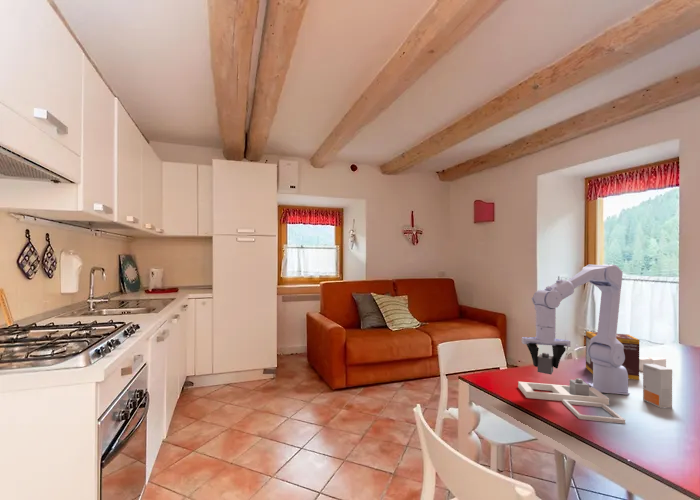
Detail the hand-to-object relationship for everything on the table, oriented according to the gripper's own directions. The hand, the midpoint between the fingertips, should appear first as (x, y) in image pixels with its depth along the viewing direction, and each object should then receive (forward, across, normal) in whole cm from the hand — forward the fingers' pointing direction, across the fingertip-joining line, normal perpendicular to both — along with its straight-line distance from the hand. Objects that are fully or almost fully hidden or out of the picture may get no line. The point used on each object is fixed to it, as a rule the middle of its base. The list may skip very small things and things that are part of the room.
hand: (545, 366), depth 116 cm
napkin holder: (+10, -54, -42) cm, 69 cm away
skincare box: (+10, -33, 0) cm, 34 cm away
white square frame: (+9, -9, +11) cm, 17 cm away
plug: (+2, 0, 0) cm, 2 cm away
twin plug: (+10, -10, -1) cm, 14 cm away
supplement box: (+10, -35, -32) cm, 48 cm away
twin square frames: (+9, -5, -1) cm, 11 cm away
